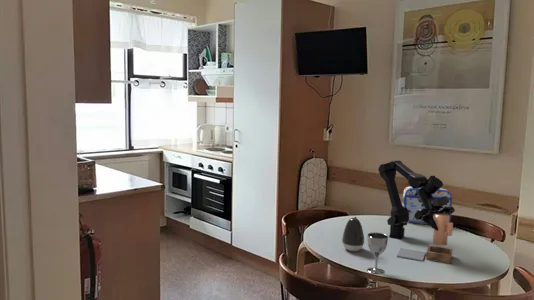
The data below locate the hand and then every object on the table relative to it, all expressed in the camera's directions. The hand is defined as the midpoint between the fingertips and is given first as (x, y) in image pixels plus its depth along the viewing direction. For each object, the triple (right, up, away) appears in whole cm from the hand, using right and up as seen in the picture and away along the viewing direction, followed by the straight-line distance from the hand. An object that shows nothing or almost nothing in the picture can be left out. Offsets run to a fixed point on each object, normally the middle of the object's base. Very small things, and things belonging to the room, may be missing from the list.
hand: (443, 229), depth 185 cm
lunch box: (+14, -7, +58) cm, 60 cm away
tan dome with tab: (0, -6, +1) cm, 7 cm away
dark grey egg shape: (-38, -12, +11) cm, 41 cm away
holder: (-1, -13, +3) cm, 13 cm away
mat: (-12, -13, +5) cm, 18 cm away
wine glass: (-33, -15, -13) cm, 39 cm away
